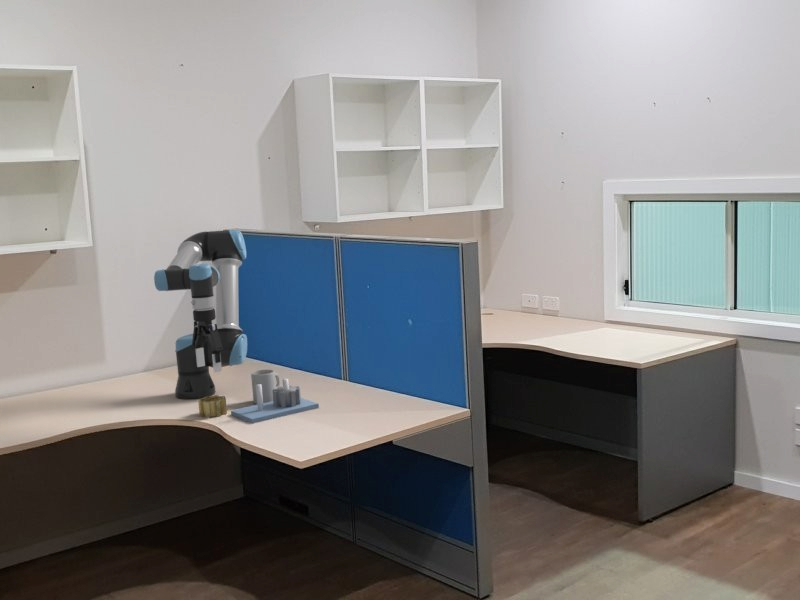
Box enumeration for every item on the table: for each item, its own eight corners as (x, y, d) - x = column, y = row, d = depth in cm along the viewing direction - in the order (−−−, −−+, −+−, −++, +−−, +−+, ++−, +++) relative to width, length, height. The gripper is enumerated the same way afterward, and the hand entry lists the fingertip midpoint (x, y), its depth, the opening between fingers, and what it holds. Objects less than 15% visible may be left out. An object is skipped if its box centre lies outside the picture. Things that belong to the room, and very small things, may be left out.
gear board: (231, 414, 325) (228, 385, 323) (296, 400, 340) (293, 371, 338) (252, 423, 312) (249, 392, 310) (318, 407, 327) (316, 378, 325)
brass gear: (195, 414, 328) (193, 399, 327) (219, 408, 334) (218, 393, 333) (206, 419, 320) (205, 403, 320) (231, 413, 326) (230, 398, 325)
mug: (264, 405, 335) (262, 375, 333) (248, 402, 340) (246, 373, 338) (288, 397, 344) (286, 368, 342) (272, 395, 349) (269, 366, 348)
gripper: (179, 307, 329) (184, 366, 332) (209, 313, 309) (214, 376, 312) (198, 304, 334) (204, 362, 337) (229, 310, 314) (235, 372, 317)
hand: (209, 369), depth 325 cm, fingers open, 13 cm apart
